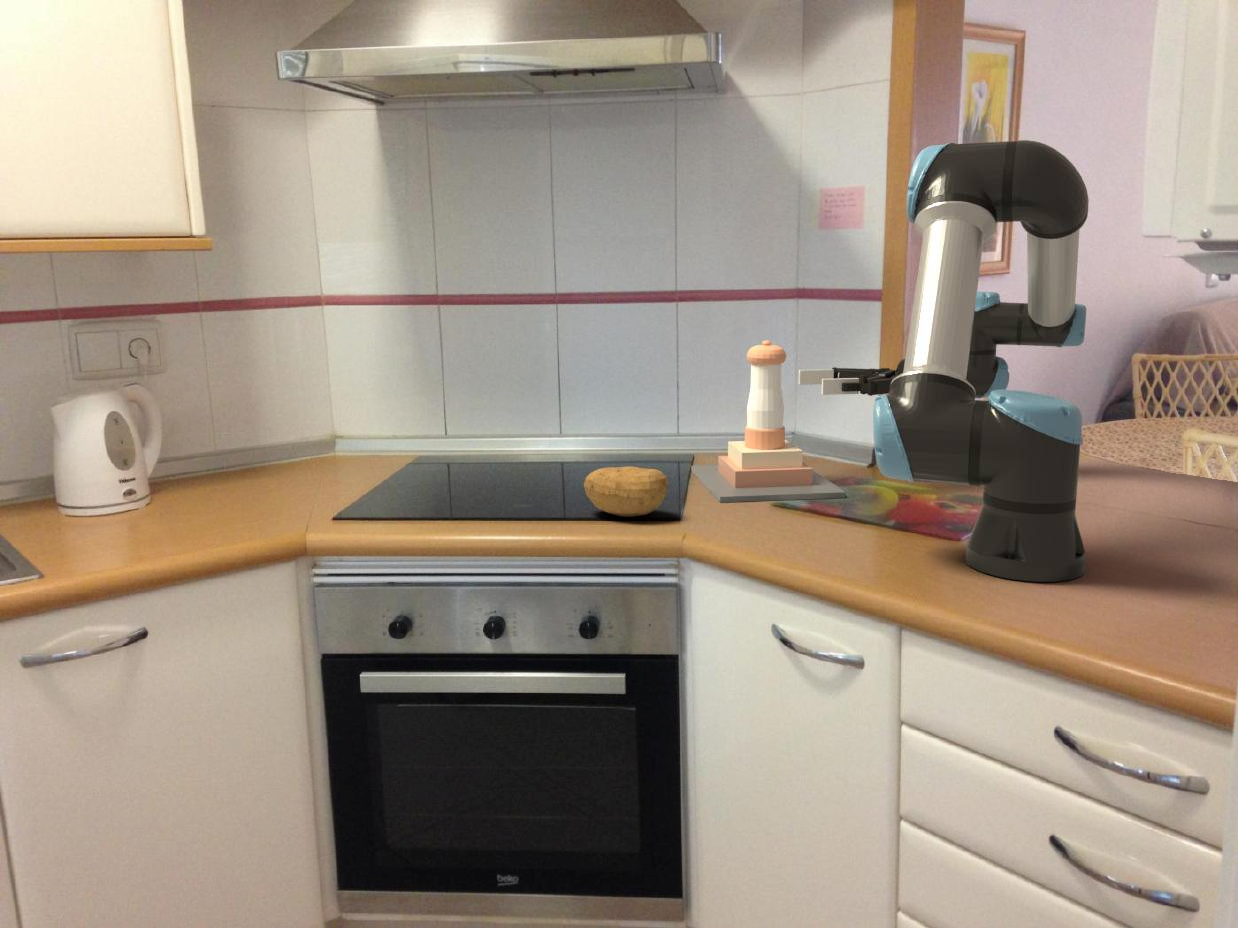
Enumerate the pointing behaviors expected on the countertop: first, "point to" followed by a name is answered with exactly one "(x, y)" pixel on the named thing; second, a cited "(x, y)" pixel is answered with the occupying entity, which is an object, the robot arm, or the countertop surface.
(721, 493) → the stacked blocks on tray
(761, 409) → the pepper shaker
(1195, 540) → the countertop surface
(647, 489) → the potato
